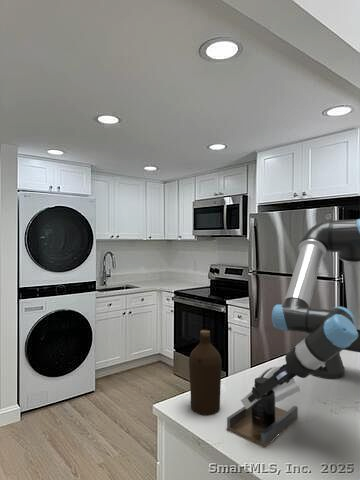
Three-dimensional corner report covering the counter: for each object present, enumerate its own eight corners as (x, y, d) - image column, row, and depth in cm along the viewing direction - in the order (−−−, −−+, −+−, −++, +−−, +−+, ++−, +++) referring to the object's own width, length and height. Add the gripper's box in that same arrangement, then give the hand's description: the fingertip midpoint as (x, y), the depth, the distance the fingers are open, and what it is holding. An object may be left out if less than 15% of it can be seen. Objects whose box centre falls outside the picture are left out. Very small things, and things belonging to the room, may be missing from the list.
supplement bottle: (259, 412, 103) (259, 373, 104) (279, 420, 99) (279, 380, 99) (247, 420, 99) (246, 380, 99) (267, 430, 94) (267, 387, 94)
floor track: (262, 405, 110) (262, 394, 110) (297, 418, 102) (297, 406, 102) (227, 430, 96) (227, 417, 96) (264, 447, 87) (264, 434, 87)
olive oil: (225, 415, 104) (224, 335, 104) (191, 417, 103) (191, 336, 103) (218, 399, 114) (217, 326, 114) (187, 401, 113) (186, 327, 113)
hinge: (273, 404, 111) (264, 373, 113) (262, 404, 114) (254, 373, 117) (300, 390, 121) (292, 361, 124) (289, 390, 125) (281, 362, 127)
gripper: (294, 385, 79) (241, 425, 90) (331, 358, 97) (284, 394, 108) (273, 357, 83) (224, 398, 93) (313, 336, 101) (269, 373, 111)
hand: (256, 396), depth 100 cm, fingers open, 13 cm apart
